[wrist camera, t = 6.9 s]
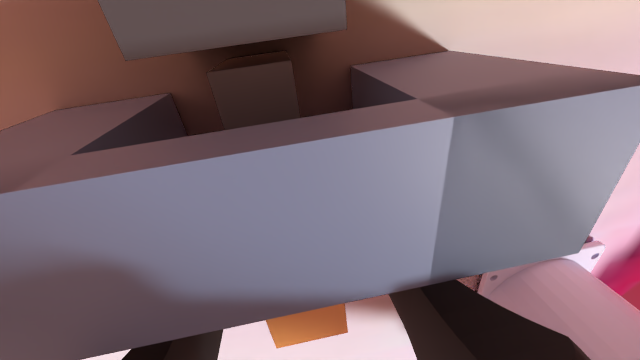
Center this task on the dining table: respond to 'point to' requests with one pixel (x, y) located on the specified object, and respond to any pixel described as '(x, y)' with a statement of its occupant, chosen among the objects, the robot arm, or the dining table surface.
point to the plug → (238, 80)
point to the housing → (299, 200)
